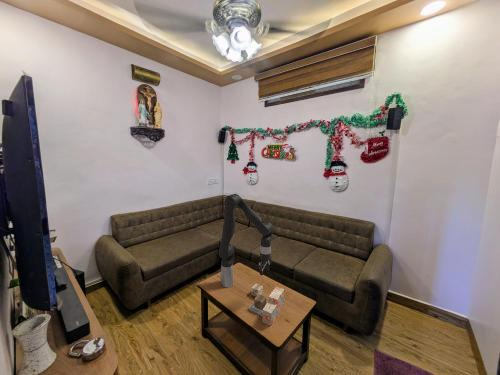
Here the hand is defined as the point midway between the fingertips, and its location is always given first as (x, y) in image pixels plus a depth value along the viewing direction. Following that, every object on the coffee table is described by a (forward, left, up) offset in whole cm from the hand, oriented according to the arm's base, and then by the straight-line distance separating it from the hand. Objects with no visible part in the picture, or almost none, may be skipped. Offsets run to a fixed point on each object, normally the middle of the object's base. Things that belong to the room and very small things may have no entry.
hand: (264, 272), depth 147 cm
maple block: (-7, +2, -22) cm, 23 cm away
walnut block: (+2, -8, -21) cm, 22 cm away
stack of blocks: (+12, -7, -22) cm, 26 cm away
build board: (+2, -8, -22) cm, 23 cm away
